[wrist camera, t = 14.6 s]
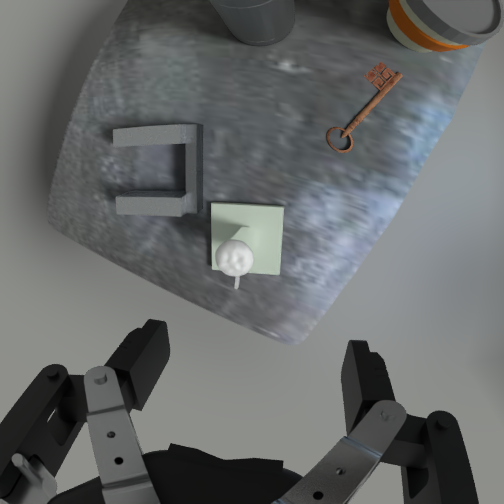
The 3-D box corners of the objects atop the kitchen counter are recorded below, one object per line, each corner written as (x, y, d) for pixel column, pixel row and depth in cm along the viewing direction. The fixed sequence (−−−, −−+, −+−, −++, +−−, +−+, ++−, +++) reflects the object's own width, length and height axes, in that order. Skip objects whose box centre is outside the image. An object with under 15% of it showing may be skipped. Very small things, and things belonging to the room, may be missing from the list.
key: (378, 56, 34) (310, 129, 39) (379, 54, 33) (310, 128, 39) (409, 84, 35) (343, 157, 40) (411, 83, 34) (343, 158, 39)
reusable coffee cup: (359, 27, 32) (386, -17, 19) (395, -24, 28) (427, -71, 14) (432, 81, 33) (487, 63, 20) (463, 27, 29) (515, 0, 15)
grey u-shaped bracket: (130, 128, 42) (113, 129, 37) (203, 124, 41) (191, 123, 36) (133, 205, 46) (116, 214, 42) (203, 208, 45) (192, 217, 40)
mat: (213, 202, 44) (211, 203, 43) (283, 205, 43) (283, 207, 42) (213, 266, 48) (212, 269, 47) (279, 272, 47) (279, 275, 46)
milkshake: (233, 258, 46) (217, 291, 37) (226, 223, 44) (207, 248, 35) (264, 255, 45) (255, 287, 36) (258, 219, 43) (247, 243, 34)
